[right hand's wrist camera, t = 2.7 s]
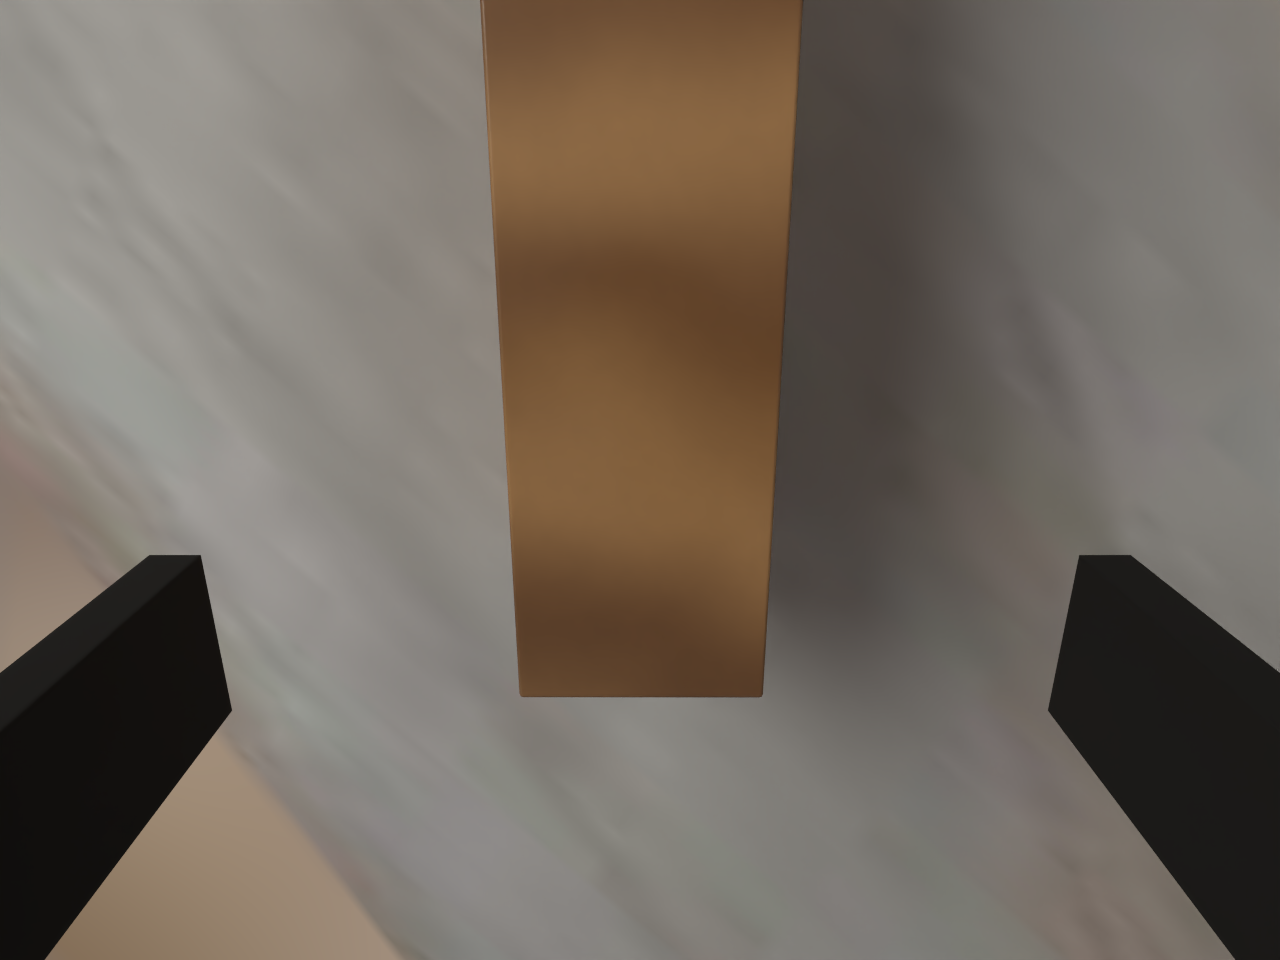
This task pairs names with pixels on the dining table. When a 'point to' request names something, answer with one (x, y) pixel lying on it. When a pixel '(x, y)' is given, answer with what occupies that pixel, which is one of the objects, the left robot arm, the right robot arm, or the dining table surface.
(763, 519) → the bar
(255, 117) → the dining table surface
